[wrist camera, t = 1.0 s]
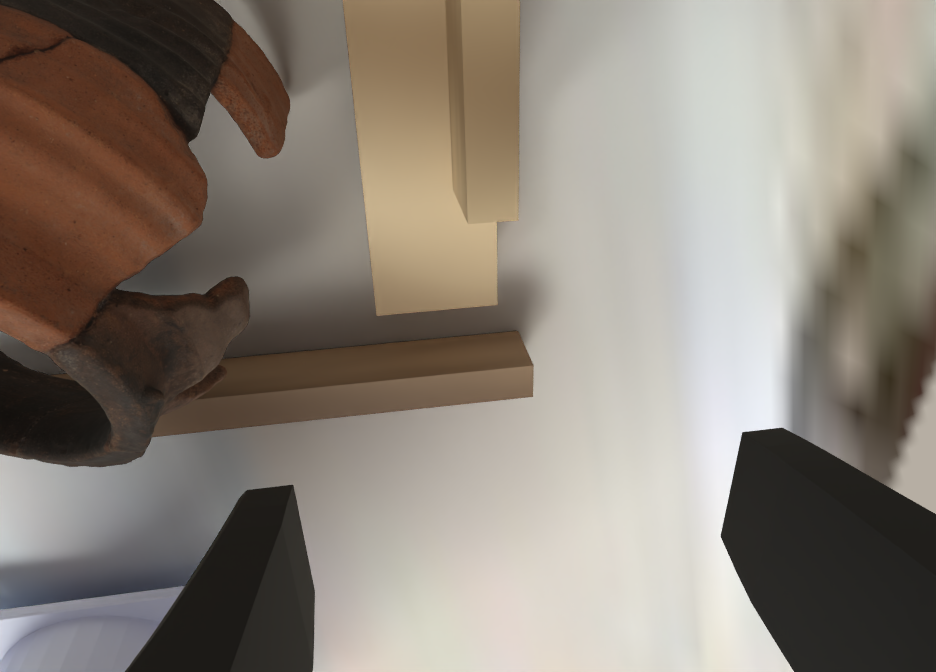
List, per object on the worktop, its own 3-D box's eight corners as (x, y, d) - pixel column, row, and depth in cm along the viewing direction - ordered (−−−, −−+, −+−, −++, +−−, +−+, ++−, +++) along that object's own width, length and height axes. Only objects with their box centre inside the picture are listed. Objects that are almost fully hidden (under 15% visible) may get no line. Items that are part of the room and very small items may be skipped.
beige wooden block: (484, 273, 18) (517, 352, 14) (375, 282, 18) (379, 366, 14) (474, -244, 13) (522, -336, 9) (319, -245, 13) (301, -339, 9)
